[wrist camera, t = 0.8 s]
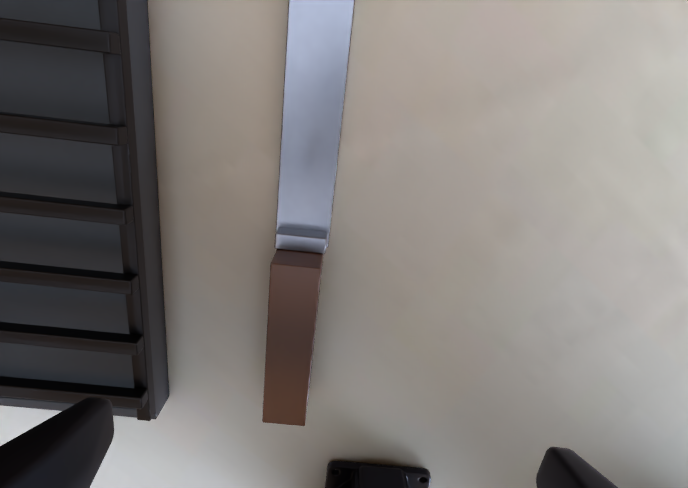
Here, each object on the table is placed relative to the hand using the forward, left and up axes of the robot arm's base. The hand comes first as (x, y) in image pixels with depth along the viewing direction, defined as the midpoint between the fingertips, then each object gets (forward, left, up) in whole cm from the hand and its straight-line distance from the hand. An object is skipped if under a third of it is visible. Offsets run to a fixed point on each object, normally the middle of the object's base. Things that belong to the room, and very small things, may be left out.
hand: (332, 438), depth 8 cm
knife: (+1, +2, -12) cm, 12 cm away
